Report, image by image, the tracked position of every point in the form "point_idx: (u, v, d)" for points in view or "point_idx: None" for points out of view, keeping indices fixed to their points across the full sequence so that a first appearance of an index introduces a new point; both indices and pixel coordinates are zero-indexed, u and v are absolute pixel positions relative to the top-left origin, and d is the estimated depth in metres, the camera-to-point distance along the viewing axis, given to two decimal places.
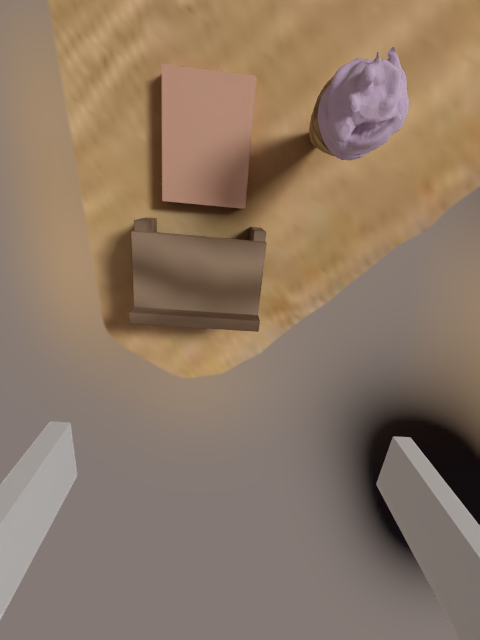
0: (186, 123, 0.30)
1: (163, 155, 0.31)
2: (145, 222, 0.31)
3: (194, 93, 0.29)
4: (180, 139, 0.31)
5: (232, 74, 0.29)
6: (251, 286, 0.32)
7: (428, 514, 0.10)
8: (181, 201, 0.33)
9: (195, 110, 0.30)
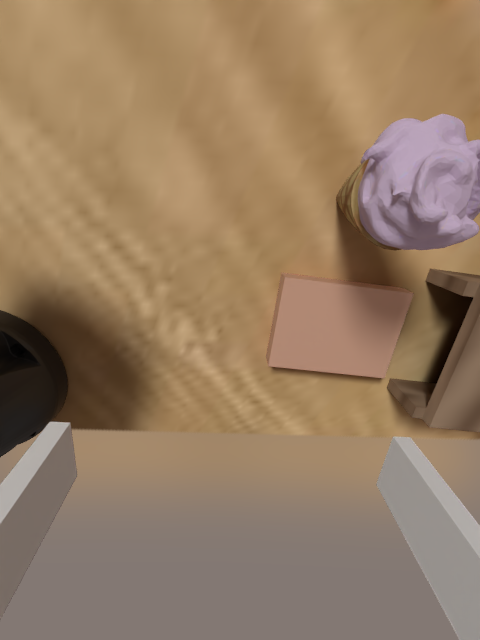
0: (318, 349, 0.30)
1: (343, 372, 0.31)
2: (416, 408, 0.29)
3: (293, 340, 0.29)
4: (331, 355, 0.30)
5: (281, 302, 0.28)
6: None
7: (428, 514, 0.10)
8: (389, 360, 0.30)
9: (308, 339, 0.29)
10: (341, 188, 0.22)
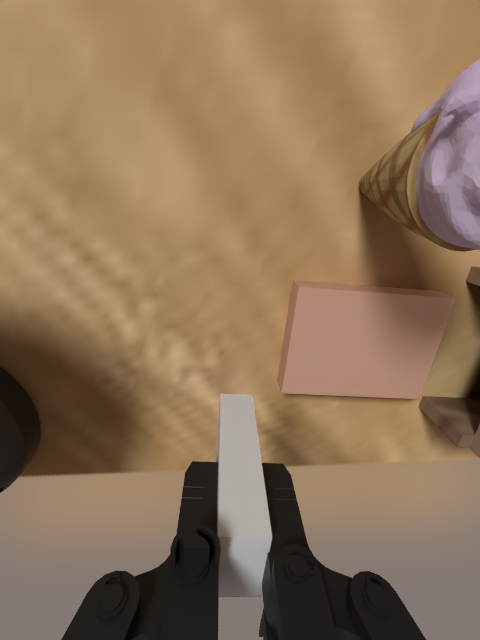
0: (341, 370, 0.24)
1: (370, 395, 0.26)
2: (463, 435, 0.24)
3: (311, 361, 0.24)
4: (357, 376, 0.25)
5: (295, 317, 0.23)
6: None
7: None
8: (425, 378, 0.25)
9: (328, 359, 0.24)
10: (373, 170, 0.17)
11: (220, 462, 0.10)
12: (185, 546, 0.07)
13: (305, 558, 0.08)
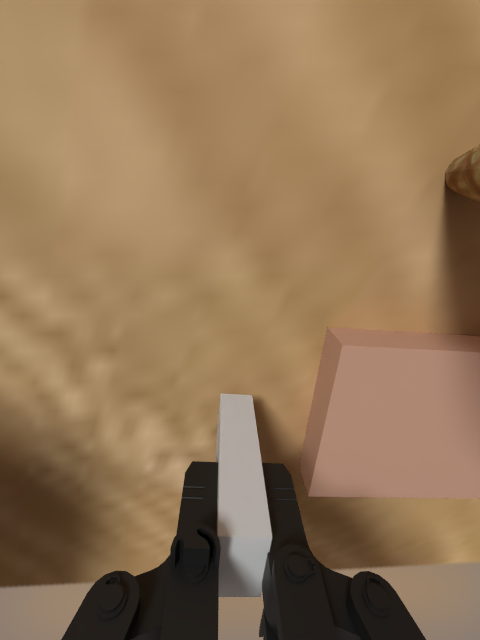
0: (402, 463, 0.16)
1: (442, 495, 0.17)
2: None
3: (356, 452, 0.15)
4: (425, 472, 0.16)
5: (334, 391, 0.14)
6: None
7: None
8: None
9: (383, 450, 0.15)
10: None
11: (220, 462, 0.10)
12: (185, 546, 0.07)
13: (305, 558, 0.08)
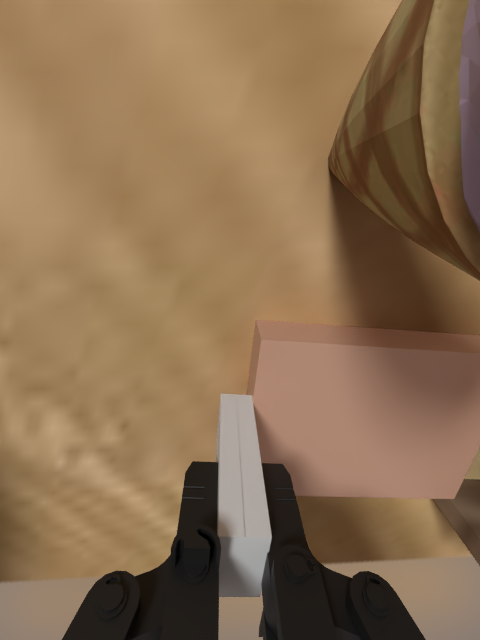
0: (334, 462, 0.15)
1: (379, 495, 0.17)
2: None
3: (286, 450, 0.15)
4: (359, 471, 0.16)
5: (257, 387, 0.14)
6: None
7: None
8: (465, 471, 0.16)
9: (314, 448, 0.15)
10: (342, 118, 0.08)
11: (220, 462, 0.10)
12: (185, 546, 0.07)
13: (305, 558, 0.08)
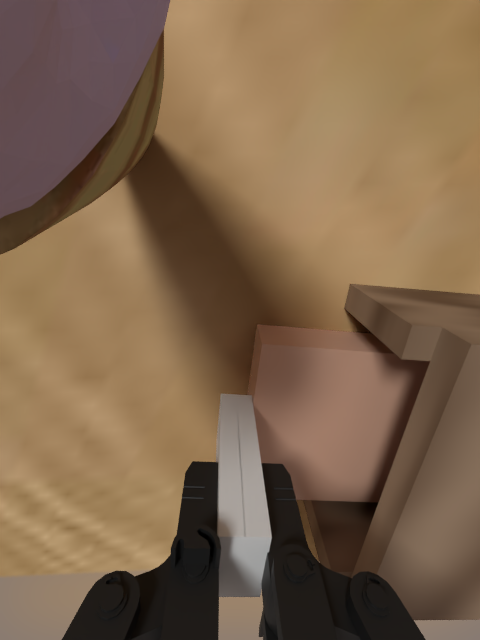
0: (334, 466, 0.15)
1: (378, 500, 0.17)
2: None
3: (286, 454, 0.15)
4: (358, 475, 0.16)
5: (257, 391, 0.14)
6: None
7: None
8: None
9: (313, 452, 0.15)
10: None
11: (220, 462, 0.10)
12: (185, 546, 0.07)
13: (305, 558, 0.08)
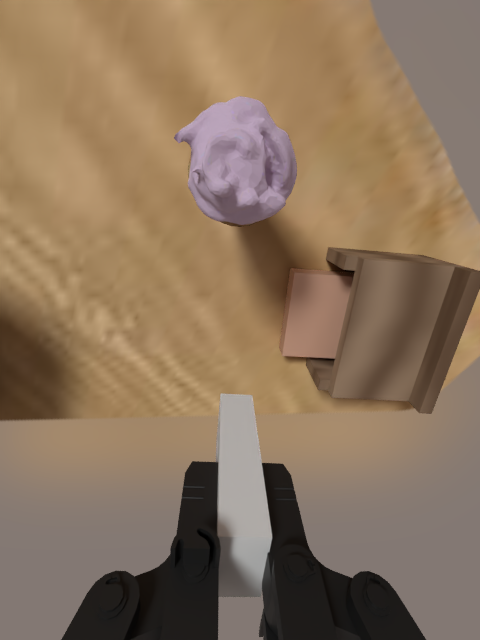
0: (328, 337, 0.32)
1: None
2: (321, 380, 0.30)
3: (305, 330, 0.31)
4: None
5: (292, 295, 0.30)
6: (414, 276, 0.25)
7: None
8: None
9: (318, 329, 0.31)
10: None
11: (220, 462, 0.10)
12: (185, 546, 0.07)
13: (305, 558, 0.08)
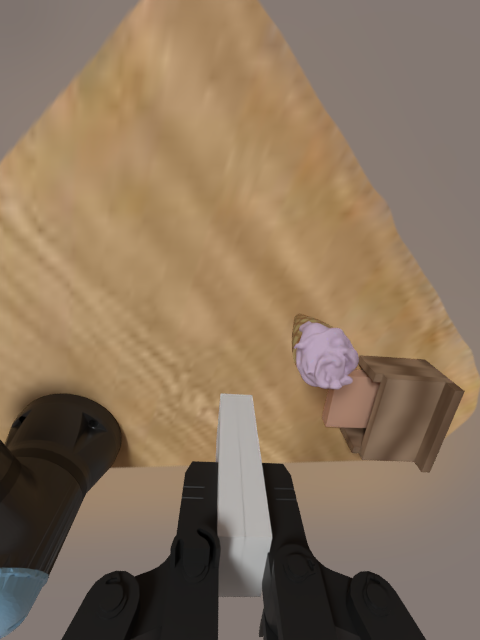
0: (358, 414, 0.46)
1: None
2: (354, 447, 0.44)
3: (342, 410, 0.45)
4: (366, 418, 0.46)
5: (335, 389, 0.44)
6: (419, 388, 0.39)
7: None
8: None
9: (351, 409, 0.45)
10: (293, 327, 0.37)
11: (220, 462, 0.10)
12: (185, 546, 0.07)
13: (305, 558, 0.08)
